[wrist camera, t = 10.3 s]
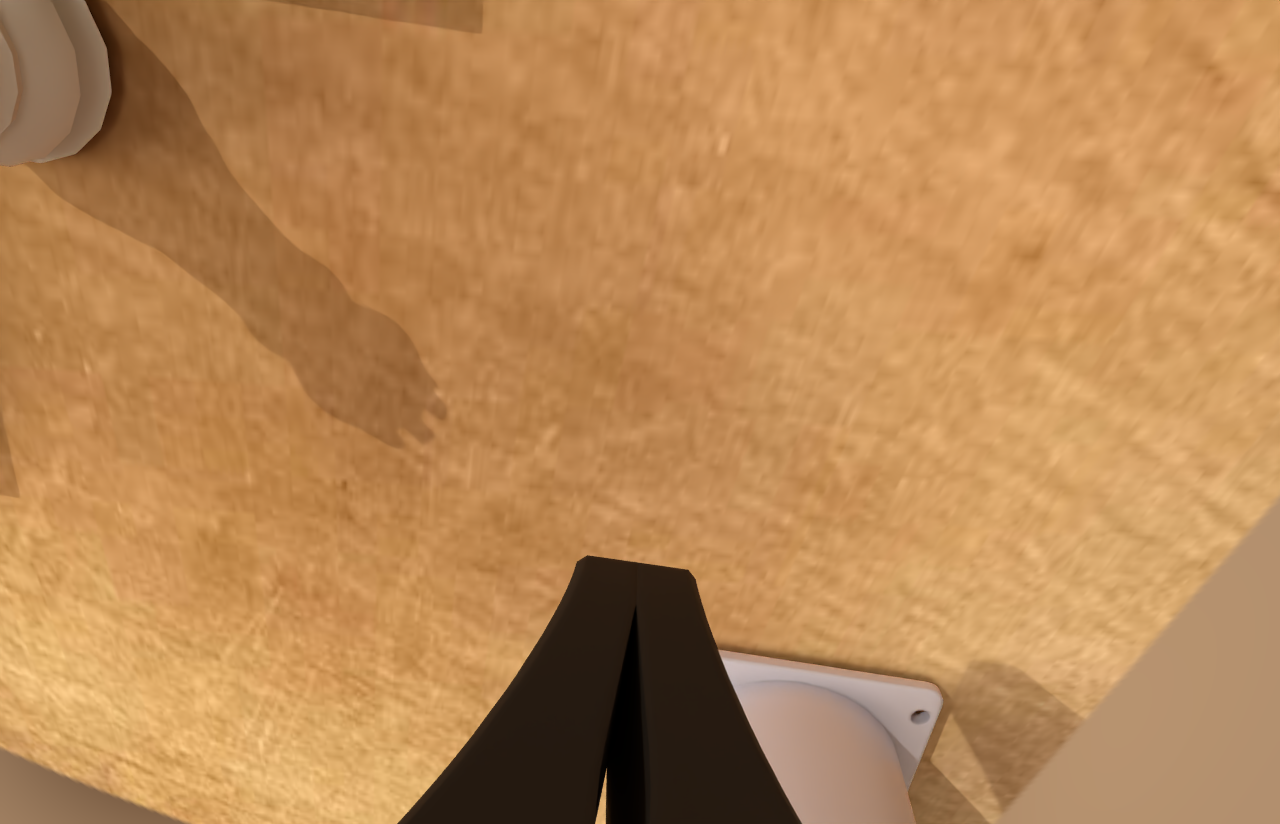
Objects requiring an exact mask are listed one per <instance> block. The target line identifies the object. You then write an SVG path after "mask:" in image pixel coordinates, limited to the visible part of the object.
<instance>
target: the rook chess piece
mask: <svg viewBox="0 0 1280 824" xmlns="http://www.w3.org/2000/svg"><path fill="white" fill-rule="evenodd" d="M111 94H112V90H111V81H110V72H109V64H108V55H107V47H106V45H105V43H104V41H103V39H102V37H101V34H100V32H99V30H98V28H97V26H96V24H95V22H94V19H93V17H92V15H91V13H90V11H89V9H88V6H87V4H86V2H85V1H84V0H0V165H2V166H9V167H11V166H15V165H19V164H23V163H26V162H30V161H32V162H38V163H44V162H48V161H51V160H55V159H59V158H63V157H67V156H70V155H74V154H76V153H77V152H78V151H80V150H81V149H82V148H83V147H84V146H85V145H86V144H87V143H88V142H89V141H90V140H91V139H92V138H93V137H94V136H95V135H96V134H97V133H98V132H99V131H100V130H101V127H102V124H103V120H104V117H105V114H106V110H107V107H108V104H109V100H110V97H111Z"/></svg>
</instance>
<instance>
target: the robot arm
mask: <svg viewBox="0 0 1280 824" xmlns="http://www.w3.org/2000/svg"><path fill="white" fill-rule="evenodd" d="M942 706H943V698H942V695H941V692H940V690H939V688H938V687H937V686H936V685H935V684H933V683H930V682H926V681H920V680H913V679H907V678H900V677H894V676H887V675H881V674H874V673H868V672H861V671H855V670H848V669H842V668H835V667H829V666H822V665H816V664H809V663H803V662H796V661H790V660H783V659H777V658H771V657H764V656H758V655H751V654H745V653H738V652H732V651H725V650H719V649H718V648H717V646H716V643H715V640H714V638H713V635H712V632H711V630H710V627H709V624H708V621H707V618H706V615H705V612H704V609H703V606H702V602H701V599H700V595H699V592H698V588H697V584H696V579H695V578H694V577H693V575H692V574H691V573H690V572H689V570H685V569H678V568H671V567H665V566H658V565H651V564H644V563H637V562H630V561H623V560H616V559H609V558H602V557H595V556H588V555H587V556H586V557H584V558H582V559H581V560H579V561H577V563H576V567H575V570H574V573H573V576H572V578H571V581H570V583H569V585H568V588H567V590H566V592H565V594H564V596H563V598H562V600H561V602H560V604H559V606H558V608H557V610H556V611H555V613H554V615H553V617H552V619H551V620H550V622H549V624H548V626H547V627H546V629H545V631H544V633H543V634H542V636H541V637H540V639H539V641H538V642H537V644H536V645H535V647H534V648H533V650H532V652H531V653H530V655H529V656H528V658H527V659H526V661H525V663H524V664H523V666H522V667H521V669H520V670H519V672H518V674H517V675H516V677H515V678H514V679H513V681H512V682H511V684H510V685H509V687H508V688H507V690H506V691H505V692H504V694H503V695H502V696H501V698H500V699H499V700H498V702H497V703H496V704H495V706H494V707H493V708H492V710H491V711H490V712H489V714H488V715H487V717H486V718H485V719H484V721H483V722H482V723H481V725H480V726H479V727H478V729H477V730H476V731H475V733H474V734H473V735H472V737H471V738H470V739H469V741H468V742H467V743H466V744H465V746H464V747H463V748H462V749H461V751H460V752H459V753H458V754H457V756H456V757H455V758H454V759H453V760H452V762H451V763H450V764H449V765H448V767H447V768H446V769H445V770H444V771H443V773H442V774H441V775H440V776H439V777H438V778H437V780H436V781H435V782H434V783H433V784H432V785H431V787H430V788H429V789H428V790H427V791H426V792H425V793H424V795H423V796H422V797H421V798H420V799H419V800H418V801H417V803H416V804H415V805H414V806H413V807H412V808H411V809H410V810H409V812H408V813H407V814H406V815H405V816H404V817H403V818H402V819H401V820H400V821H399V822H398V823H397V824H595V822H596V817H597V812H598V807H599V802H600V797H601V793H602V788H603V783H604V778H605V773H606V768H607V786H606V824H916V822H915V818H914V815H913V811H912V807H911V803H910V800H909V796H908V790H909V787H910V785H911V782H912V780H913V777H914V775H915V772H916V770H917V768H918V765H919V763H920V760H921V758H922V755H923V753H924V750H925V748H926V745H927V743H928V741H929V738H930V736H931V733H932V731H933V728H934V726H935V723H936V721H937V718H938V716H939V714H940V711H941V709H942ZM920 710H923V712H921V713H918V714H914V712H916V711H920Z"/></svg>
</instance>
